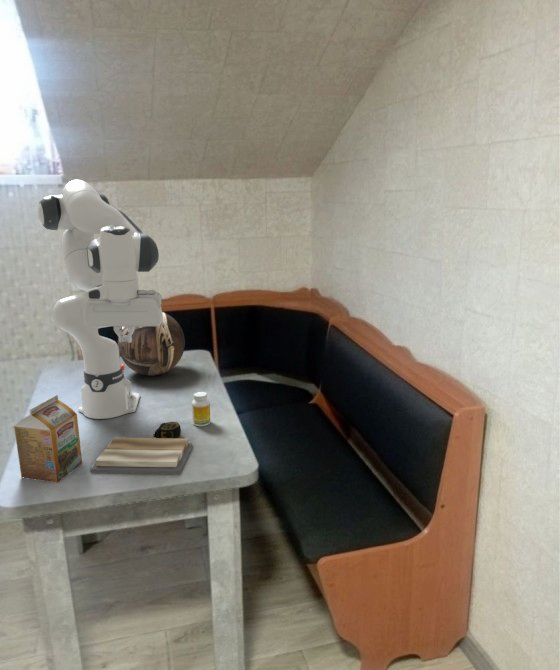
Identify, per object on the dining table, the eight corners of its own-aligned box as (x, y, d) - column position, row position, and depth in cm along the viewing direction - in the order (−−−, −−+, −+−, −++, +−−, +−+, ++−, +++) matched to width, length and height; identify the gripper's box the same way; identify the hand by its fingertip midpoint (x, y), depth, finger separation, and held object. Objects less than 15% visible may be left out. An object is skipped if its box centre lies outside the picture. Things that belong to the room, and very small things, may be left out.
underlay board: (112, 445, 163) (111, 442, 163) (192, 446, 161) (192, 443, 161) (90, 472, 148) (90, 469, 147) (179, 474, 146) (179, 470, 146)
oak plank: (115, 442, 162) (114, 437, 162) (188, 443, 161) (188, 438, 161) (106, 453, 156) (105, 448, 155) (182, 454, 154) (182, 449, 154)
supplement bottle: (190, 422, 178) (188, 392, 176) (207, 418, 180) (205, 389, 178) (196, 428, 173) (194, 398, 171) (213, 424, 176) (211, 395, 173)
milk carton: (57, 482, 143) (48, 411, 138) (21, 477, 146) (11, 407, 141) (82, 463, 153) (74, 396, 148) (48, 458, 156) (39, 392, 151)
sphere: (189, 381, 215) (185, 315, 209) (119, 387, 210) (113, 320, 203) (184, 361, 239) (180, 302, 232) (121, 367, 233) (116, 306, 227)
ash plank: (105, 454, 155) (105, 449, 155) (182, 455, 154) (182, 450, 153) (95, 466, 148) (95, 460, 148) (176, 467, 147) (176, 461, 147)
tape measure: (162, 431, 172) (161, 420, 171) (184, 433, 171) (183, 421, 170) (153, 441, 165) (152, 429, 164) (176, 443, 164) (175, 431, 163)
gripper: (164, 288, 150) (167, 339, 154) (87, 288, 152) (92, 339, 155) (157, 292, 144) (161, 345, 148) (78, 292, 146) (83, 345, 149)
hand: (125, 342), depth 152 cm, fingers closed
